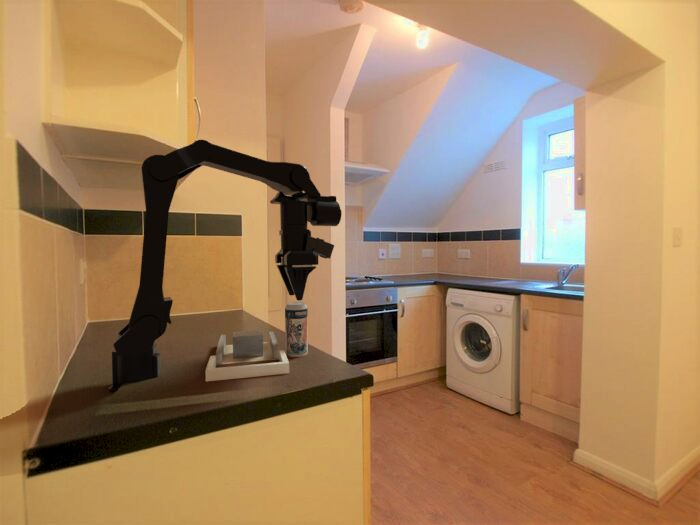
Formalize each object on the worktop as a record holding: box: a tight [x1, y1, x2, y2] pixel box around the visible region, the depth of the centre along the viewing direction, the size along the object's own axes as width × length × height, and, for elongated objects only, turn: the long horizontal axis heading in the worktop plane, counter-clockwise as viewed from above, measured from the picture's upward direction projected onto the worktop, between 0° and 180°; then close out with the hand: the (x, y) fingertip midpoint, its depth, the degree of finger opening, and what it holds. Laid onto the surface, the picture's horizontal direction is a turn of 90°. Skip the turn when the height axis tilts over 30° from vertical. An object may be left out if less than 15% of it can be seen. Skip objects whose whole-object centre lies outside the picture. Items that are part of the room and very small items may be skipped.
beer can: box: [284, 301, 309, 358], centre depth 76 cm, size 5×5×12 cm
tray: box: [205, 349, 290, 382], centre depth 66 cm, size 14×9×3 cm, turn 106°
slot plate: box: [215, 331, 280, 366], centre depth 78 cm, size 12×15×4 cm
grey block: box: [232, 329, 264, 359], centre depth 76 cm, size 6×5×4 cm
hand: (295, 297), depth 77 cm, fingers open, 9 cm apart
